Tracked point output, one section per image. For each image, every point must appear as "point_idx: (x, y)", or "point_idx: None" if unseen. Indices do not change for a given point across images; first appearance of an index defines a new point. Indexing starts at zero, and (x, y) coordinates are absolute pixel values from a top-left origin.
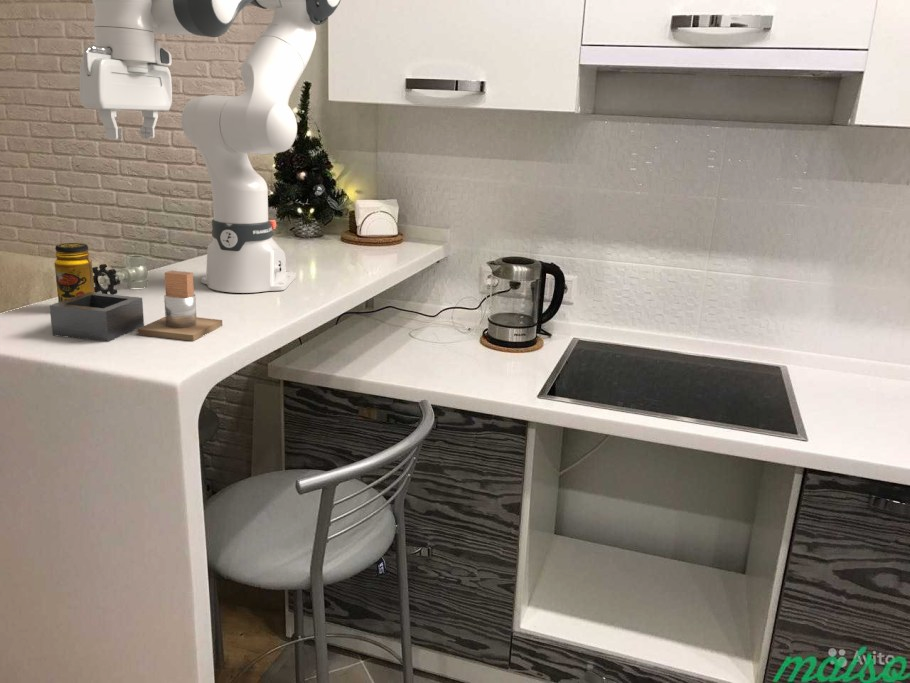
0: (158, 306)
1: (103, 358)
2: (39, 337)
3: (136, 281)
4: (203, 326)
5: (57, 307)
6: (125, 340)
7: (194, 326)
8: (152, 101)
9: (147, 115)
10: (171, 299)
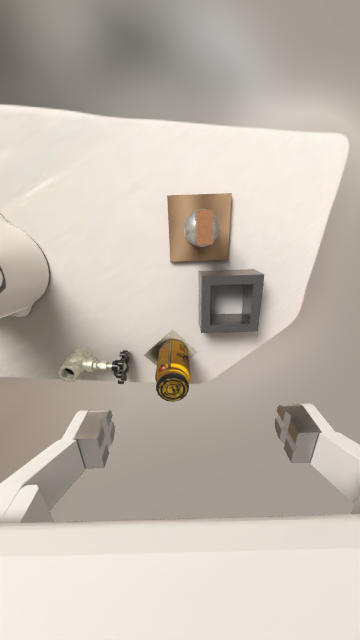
0: (132, 299)
1: (298, 243)
2: None
3: (85, 356)
4: (198, 201)
5: (258, 323)
6: (245, 258)
7: None
8: (13, 607)
9: (44, 515)
10: (219, 228)
